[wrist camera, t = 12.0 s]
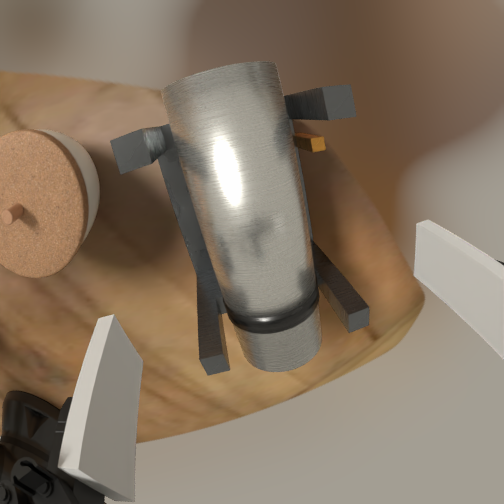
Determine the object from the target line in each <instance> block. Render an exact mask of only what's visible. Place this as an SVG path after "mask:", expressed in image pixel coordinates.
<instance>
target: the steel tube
mask: <svg viewBox="0 0 504 504" xmlns="http://www.w3.org/2000/svg"><path fill="white" fill-rule="evenodd" d="M161 94H162V97H163V101H164V105H165V109H166V113H167V116H168V120H169V124H170V127H171V131H172V135H173V138H174V142H175V145H176V149H177V152H178V156H179V159H180V163H181V166H182V170H183V173H184V177H185V180H186V183H187V187H188V190H189V193H190V197H191V200H192V203H193V206H194V210H195V213H196V216H197V219H198V222H199V226H200V229H201V232H202V235H203V238H204V241H205V244H206V247H207V250H208V253H209V256H210V259H211V263H212V266H213V268H214V271H215V274H216V277H217V280H218V283H219V286H220V289H221V292H222V295H223V303H224V305H225V308H226V311H227V314H228V316H229V319H230V320H231V322H232V323H233V326H234V329H235V332H236V334H237V337H238V340H239V343H240V345H241V348H242V351H243V353H244V356H245V358H246V359H247V361H248V362H249V363H250V364H252V365H253V366H254V367H256V368H258V369H261V370H264V371H269V372H284V371H289V370H293V369H296V368H298V367H300V366H302V365H304V364H306V363H307V362H308V361H310V360H311V359H312V358H313V357H314V356H315V355H316V353H317V352H318V350H319V348H320V346H321V342H322V333H321V323H320V313H319V304H318V302H319V290H318V282H317V277H316V275H315V271H314V263H313V256H312V249H311V242H310V235H309V228H308V222H307V215H306V209H305V203H304V197H303V191H302V185H301V180H300V174H299V169H298V163H297V158H296V153H295V148H294V143H293V138H292V133H291V128H290V123H289V118H288V114H287V109H286V105H285V100H284V96H283V91H282V87H281V83H280V79H279V75H278V71H277V66H276V64H275V63H273V62H247V63H240V64H233V65H228V66H223V67H219V68H214V69H210V70H207V71H203V72H200V73H197V74H194V75H191V76H188V77H186V78H183V79H181V80H178V81H176V82H174V83H172V84H170V85H168V86H166V87H165V88H164V89H162V91H161Z"/></svg>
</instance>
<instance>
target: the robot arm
mask: <svg viewBox="0 0 504 504" xmlns="http://www.w3.org/2000/svg"><path fill="white" fill-rule="evenodd" d="M416 226H417V227H416V249H415V265H414V276H415V277H416V278H417V279H418V280H419V281H420V282H422V283H423V284H424V285H425V286H426V287H428V288H429V289H430V290H431V291H432V292H433V293H434V294H436V295H437V296H438V297H439V298H440V299H441V300H442V301H443V302H445V303H446V304H447V305H448V306H449V307H450V308H451V309H452V310H453V311H455V312H456V313H457V314H458V315H459V316H460V317H461V318H462V319H463V320H464V321H465V322H466V323H467V324H468V325H469V326H470V327H472V328H473V329H474V330H475V331H476V332H477V333H478V334H479V335H480V336H481V337H482V338H483V339H484V340H485V341H486V342H487V343H488V344H489V345H490V346H491V347H492V348H493V349H494V350H495V351H496V352H497V353H498V354H499V355H500V356H501V357H502V359H503V360H504V263H503V262H500V261H498V260H495V259H493V258H492V257H490V256H489V255H487V254H485V253H484V252H482V251H481V250H479V249H478V248H476V247H474V246H473V245H471V244H469V243H468V242H466V241H465V240H463V239H461V238H460V237H458V236H456V235H455V234H453V233H451V232H450V231H448V230H446V229H444V228H442V227H441V226H439V225H437V224H436V223H434V222H432V221H430V220H425V221H423V222H420V223H417V224H416ZM142 368H143V360H142V359H141V357H140V356H139V354H138V353H137V351H136V350H135V348H134V346H133V345H132V343H131V342H130V340H129V339H128V337H127V335H126V334H125V332H124V330H123V329H122V327H121V325H120V324H119V322H118V320H117V319H116V317H115V315H114V314H113V315H110V316H106V317H102V318H99V319H98V321H97V324H96V327H95V329H94V332H93V335H92V338H91V341H90V344H89V347H88V349H87V352H86V355H85V359H84V362H83V365H82V368H81V371H80V374H79V378H78V381H77V385H76V388H75V392H74V395H73V397H68V398H67V400H66V401H65V403H64V404H63V406H62V408H61V410H58V409H57V408H55V407H54V406H52V405H51V404H49V403H47V402H45V401H44V400H42V399H40V398H37V397H35V396H33V395H30V394H27V393H24V392H20V391H11V392H8V393H7V394H6V397H5V399H4V402H3V407H2V408H3V413H2V436H1V439H0V504H106V503H105V502H104V497H105V496H106V497H108V498H110V499H112V500H114V501H128V502H135V455H136V434H137V419H138V407H139V396H140V386H141V376H142Z"/></svg>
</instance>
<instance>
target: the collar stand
mask: <svg viewBox="0 0 504 504" xmlns="http://www.w3.org/2000/svg"><path fill="white" fill-rule="evenodd" d="M284 100H285V105H286V109H287V114H288V118H289V123H290V128H291V133H292V138H293V143H294V148H295V153H296V158H297V163H298V169H299V174H300V180H301V185H302V191H303V197H304V203H305V209H306V215H307V222H308V228H309V235H310V242H311V249H312V256H313V263H314V271H315V275H316V277H317V282H318V287H319V288H320V290H321V291H322V293H323V294H324V296H325V297H326V299H327V300H328V302H329V303H330V305H331V306H332V308H333V309H334V311H335V312H336V314H337V316H338V317H339V319H340V320H341V322H342V323H343V325H344V326H345V328H346V329H347V331H348V332H349V333H350V332H353V331H355V330H358V329H360V328H363V327H365V326H368V325H369V306H368V305H367V304H366V303H365V301H364V300H363V299H362V298H361V296H360V295H359V294H358V293H357V292H356V290H355V289H354V288H353V287H352V286H351V284H350V283H349V282H348V281H347V280H346V278H345V277H344V276H343V275H342V274H341V273H340V271H339V270H338V269H337V268H336V267H335V266H334V264H333V263H332V262H331V261H330V260H329V259H328V257H327V256H326V255H325V254H324V253H323V252H322V251H321V249H320V248H319V247H318V246H317V245H316V244H315V243H314V241H313V236H312V229H311V222H310V216H309V209H308V203H307V197H306V191H305V185H304V180H303V174H302V169H301V163H300V158H299V153H298V148H301V149H304V150H307V151H311V152H317V151H322V150H326V148H325V142H324V136H318V135H312V134H306V133H296V134H295V132H294V127H293V123H292V119H306V120H308V119H309V120H335V119H342V118H349V117H356V111H355V106H354V101H353V95H352V90H351V85H339V86H329V87H321V88H316V89H311V90H307V91H303V92H299V93H295V94H290V95H286V96H284ZM110 142H111V146H112V149H113V152H114V156H115V159H116V162H117V165H118V168H119V171H120V174H124V173H127V172H129V171H132V170H135V169H138V168H140V167H143V166H146V165H149V164H152V163H153V162H154V161H155V160H156V159H158V161H159V165H160V168H161V171H162V175H163V178H164V181H165V184H166V187H167V190H168V193H169V197H170V200H171V203H172V206H173V209H174V212H175V215H176V218H177V221H178V224H179V226H180V229H181V232H182V235H183V238H184V241H185V244H186V247H187V249H188V252H189V255H190V258H191V260H192V263H193V266H194V269H195V271H196V274H197V313H198V340H199V360H200V362H201V364H202V366H203V367H204V369H205V371H206V373H207V375H212V374H216V373H221V372H225V371H229V370H230V365H229V359H228V353H227V346H226V340H225V333H224V327H223V320H222V314H224V313H227V311H226V308H225V305H224V303H223V295H222V292H221V289H220V286H219V283H218V280H217V277H216V274H215V271H214V268H213V266H212V263H211V259H210V256H209V253H208V250H207V247H206V244H205V241H204V238H203V235H202V232H201V229H200V226H199V222H198V219H197V216H196V213H195V210H194V206H193V203H192V200H191V197H190V193H189V190H188V187H187V183H186V180H185V177H184V173H183V170H182V166H181V163H180V159H179V156H178V152H177V149H176V145H175V142H174V138H173V135H172V131H171V127H170V124H166V125H163V126H160V127H152V128H144V129H140V130H137V131H134V132H132V133H129V134H126V135H124V136H121V137H119V138H116V139H114V140H111V141H110Z"/></svg>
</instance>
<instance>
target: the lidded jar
mask: <svg viewBox="0 0 504 504" xmlns="http://www.w3.org/2000/svg"><path fill="white" fill-rule="evenodd" d="M99 199H100V186H99V179H98V174H97V170H96V167H95V165H94V163H93V161H92V159H91V157H90V155H89V154H88V152H87V151H86V149H85V148H84V147H83V146H82V145H81V144H80V143H79V142H78V141H76V140H75V139H73V138H72V137H70V136H68V135H65V134H63V133H61V132H57V131H53V130H44V129H38V130H34V129H23V130H18V131H14V132H10V133H8V134H6V135H4V136H2V137H0V263H1V264H2V265H3V266H4V267H6V268H7V269H9V270H11V271H12V272H14V273H16V274H19V275H21V276H25V277H30V278H43V277H48V276H51V275H53V274H56V273H57V272H59V271H60V270H62V269H63V268H64V267H65V266H66V265H67V264H69V263H70V261H71V260H72V259H73V257H74V256H75V254H76V253H77V252H78V250H79V248H80V246H81V244H82V243H83V241H84V240H85V239H86V237H87V235H88V233H89V231H90V229H91V227H92V225H93V223H94V220H95V217H96V214H97V211H98V206H99Z"/></svg>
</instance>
